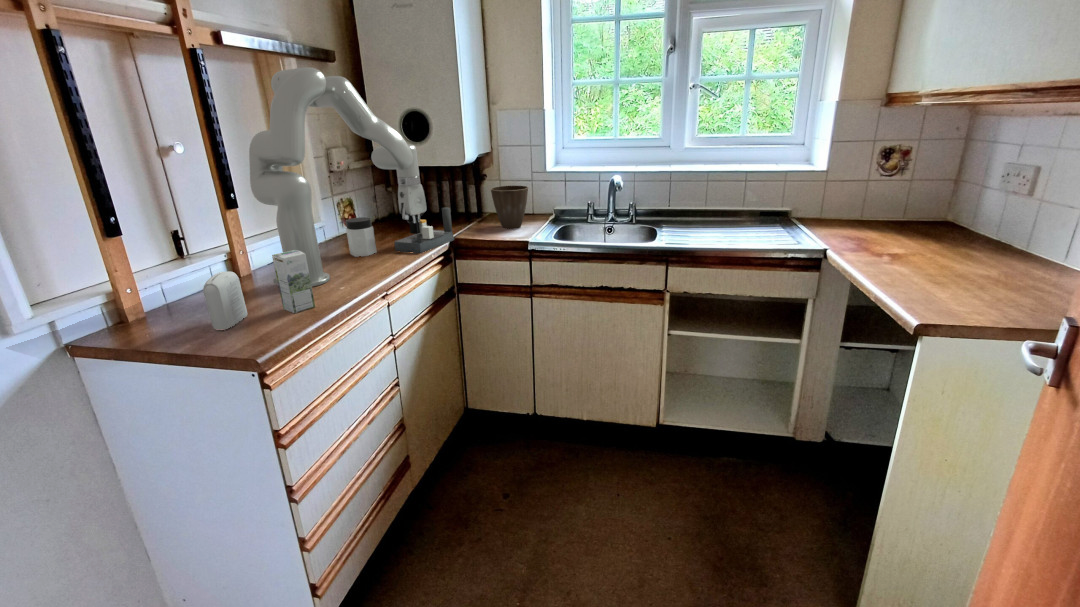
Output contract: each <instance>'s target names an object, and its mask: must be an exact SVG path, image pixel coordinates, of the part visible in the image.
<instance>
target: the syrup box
mask: <svg viewBox="0 0 1080 607" xmlns="http://www.w3.org/2000/svg"><path fill="white" fill-rule="evenodd" d="M272 261H273V266H274V271H275V276H276V278H277V281H278V285H277V286H278V290H279V294H280V299H281V300H280V301H281V304H282V307H283V310H285V311H287V312H289V313H293V314H297V313H301V312H304V311H306V310H310V309H313V308H315V307H316V303H315V298H314V292H313V287H312V286H311V281H310V276H309V270H308V265H307V260H306V254H305V253H303V252H301V251H298V250H292V251H287V252H283V251H282V252H280V253H275V254H272Z"/></svg>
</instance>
